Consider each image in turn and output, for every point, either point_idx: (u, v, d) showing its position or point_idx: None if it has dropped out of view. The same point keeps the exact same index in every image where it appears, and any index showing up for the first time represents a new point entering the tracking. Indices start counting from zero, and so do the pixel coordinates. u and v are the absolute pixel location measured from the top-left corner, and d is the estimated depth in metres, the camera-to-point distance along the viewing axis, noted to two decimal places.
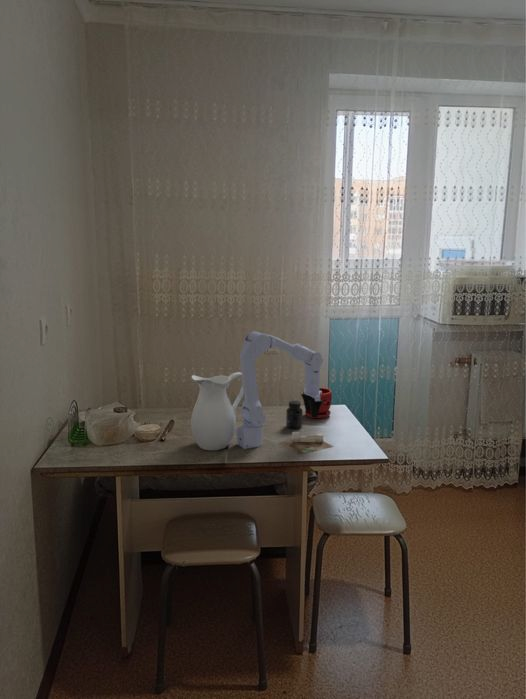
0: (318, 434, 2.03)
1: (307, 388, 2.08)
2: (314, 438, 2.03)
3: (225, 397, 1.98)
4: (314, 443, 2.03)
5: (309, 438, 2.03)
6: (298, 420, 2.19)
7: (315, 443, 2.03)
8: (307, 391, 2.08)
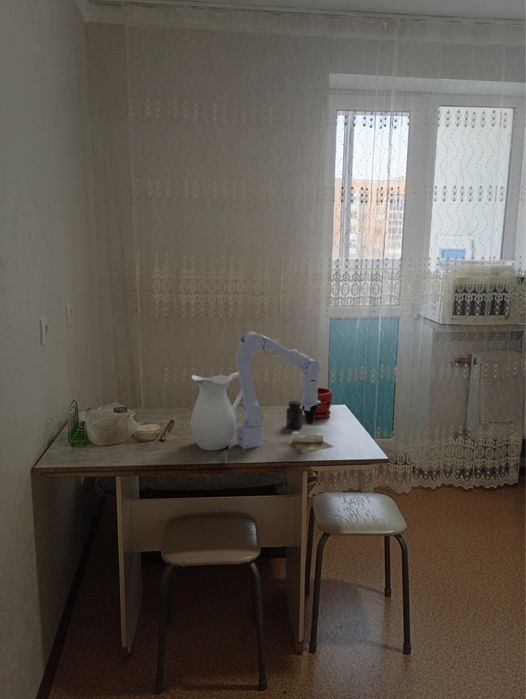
0: (318, 434, 2.03)
1: (303, 396, 2.04)
2: (314, 438, 2.03)
3: (225, 397, 1.98)
4: (314, 443, 2.03)
5: (309, 438, 2.03)
6: (298, 420, 2.19)
7: (315, 443, 2.03)
8: (303, 399, 2.04)
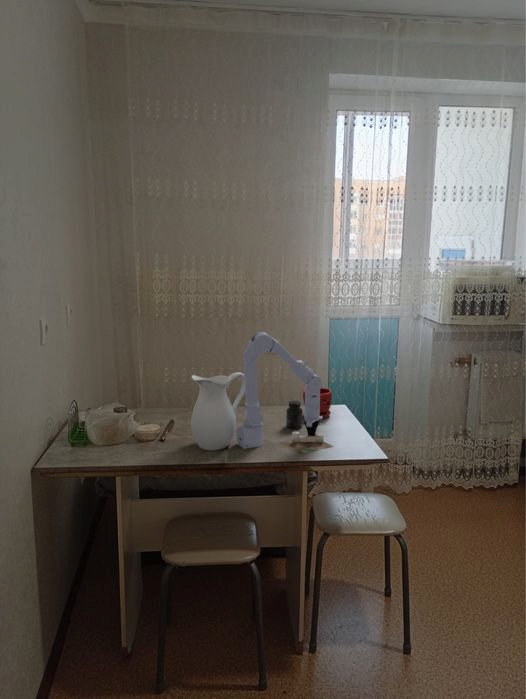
0: (318, 435, 2.03)
1: (305, 412, 2.02)
2: (314, 438, 2.03)
3: (225, 397, 1.98)
4: (314, 443, 2.03)
5: (309, 438, 2.03)
6: (298, 420, 2.19)
7: (315, 443, 2.03)
8: (305, 415, 2.03)
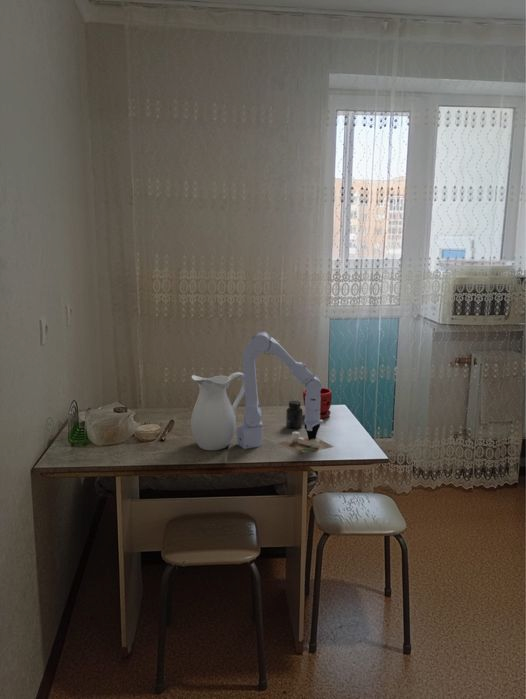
0: (314, 440, 1.97)
1: (305, 415, 1.98)
2: (309, 442, 1.98)
3: (225, 397, 1.98)
4: None
5: (305, 441, 1.99)
6: (298, 420, 2.19)
7: None
8: (305, 418, 1.98)
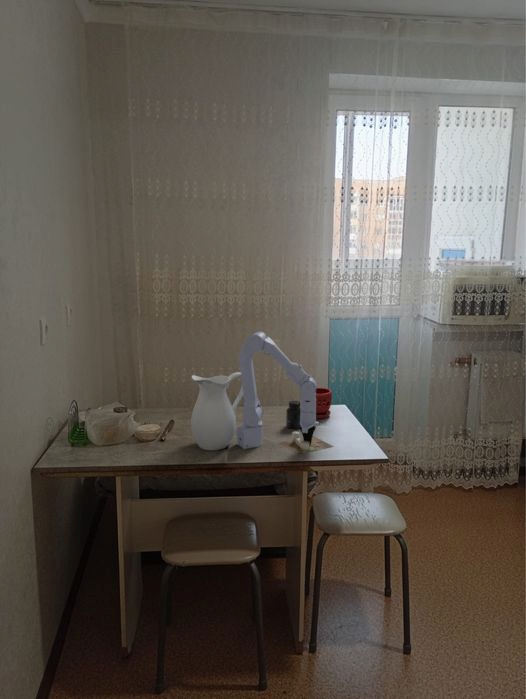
0: (304, 442, 1.95)
1: (301, 417, 1.95)
2: (300, 444, 1.97)
3: (225, 397, 1.98)
4: (314, 443, 2.03)
5: (298, 442, 1.98)
6: (298, 420, 2.19)
7: (315, 443, 2.03)
8: (301, 420, 1.96)
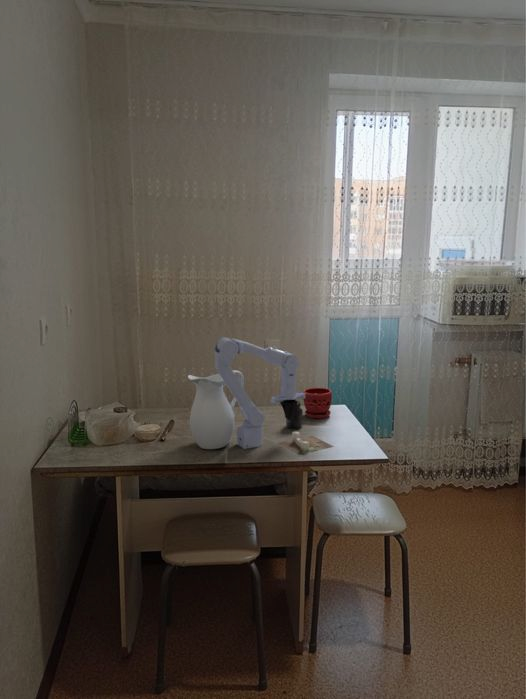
0: (304, 442, 1.95)
1: None
2: None
3: (222, 395, 1.98)
4: (314, 443, 2.03)
5: (298, 442, 1.98)
6: (298, 420, 2.19)
7: (315, 443, 2.03)
8: None
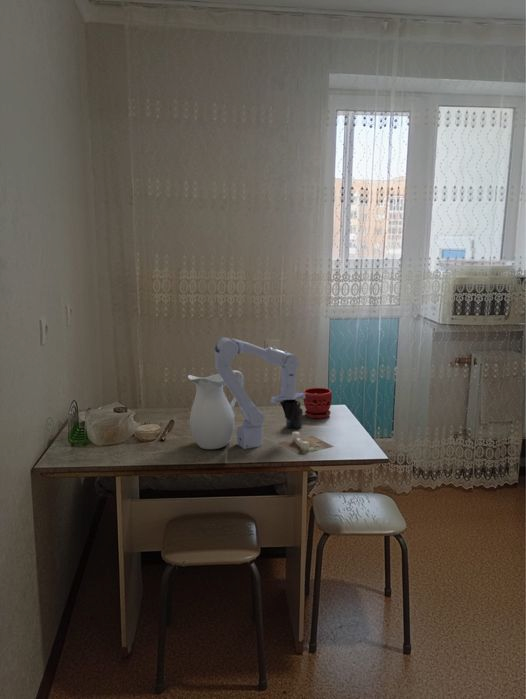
0: (304, 442, 1.95)
1: None
2: None
3: (222, 395, 1.98)
4: (314, 443, 2.03)
5: (298, 442, 1.98)
6: (298, 420, 2.19)
7: (315, 443, 2.03)
8: None
